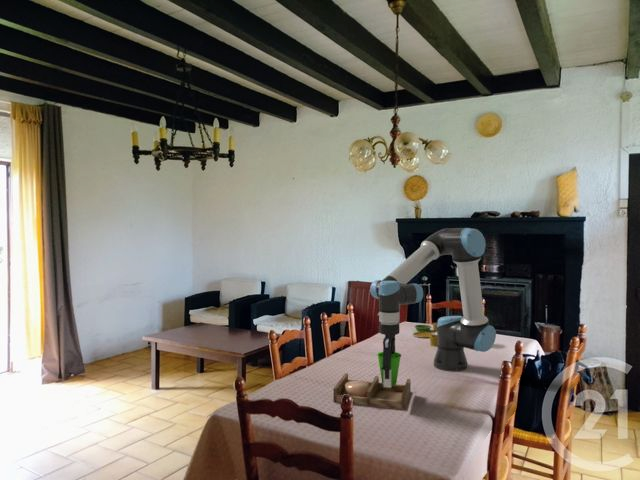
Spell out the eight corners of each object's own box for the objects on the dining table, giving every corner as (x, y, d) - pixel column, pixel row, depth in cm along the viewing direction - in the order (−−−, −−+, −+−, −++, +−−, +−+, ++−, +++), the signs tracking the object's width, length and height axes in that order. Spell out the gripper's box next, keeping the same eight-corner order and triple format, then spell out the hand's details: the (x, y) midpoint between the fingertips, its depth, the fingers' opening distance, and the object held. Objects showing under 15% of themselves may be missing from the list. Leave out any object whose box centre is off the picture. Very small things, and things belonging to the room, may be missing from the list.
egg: (370, 392, 181) (370, 382, 181) (366, 400, 173) (366, 389, 173) (348, 390, 184) (348, 379, 184) (342, 398, 175) (342, 387, 175)
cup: (401, 388, 169) (401, 358, 169) (376, 387, 171) (375, 357, 171) (401, 380, 178) (401, 352, 178) (377, 379, 180) (377, 350, 180)
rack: (410, 394, 181) (410, 379, 181) (405, 412, 164) (405, 395, 164) (345, 388, 189) (345, 373, 189) (333, 404, 172) (333, 388, 172)
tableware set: (466, 348, 248) (466, 336, 248) (413, 346, 253) (413, 335, 253) (457, 331, 289) (457, 320, 289) (412, 329, 294) (412, 319, 294)
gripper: (383, 316, 185) (384, 372, 186) (373, 328, 165) (374, 391, 165) (402, 317, 183) (403, 374, 184) (395, 329, 162) (395, 393, 163)
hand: (389, 382), depth 175 cm, fingers closed on cup, 9 cm apart
